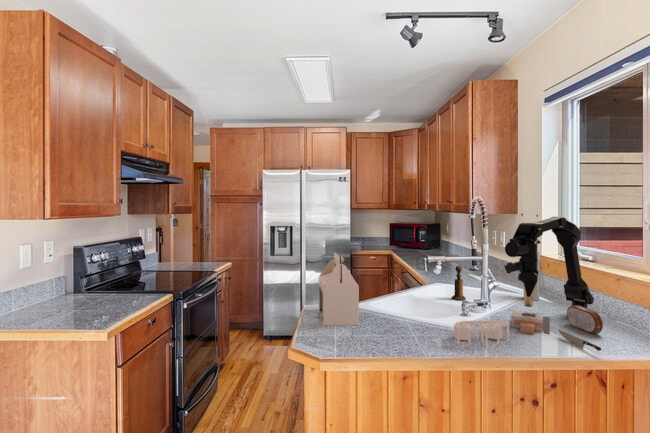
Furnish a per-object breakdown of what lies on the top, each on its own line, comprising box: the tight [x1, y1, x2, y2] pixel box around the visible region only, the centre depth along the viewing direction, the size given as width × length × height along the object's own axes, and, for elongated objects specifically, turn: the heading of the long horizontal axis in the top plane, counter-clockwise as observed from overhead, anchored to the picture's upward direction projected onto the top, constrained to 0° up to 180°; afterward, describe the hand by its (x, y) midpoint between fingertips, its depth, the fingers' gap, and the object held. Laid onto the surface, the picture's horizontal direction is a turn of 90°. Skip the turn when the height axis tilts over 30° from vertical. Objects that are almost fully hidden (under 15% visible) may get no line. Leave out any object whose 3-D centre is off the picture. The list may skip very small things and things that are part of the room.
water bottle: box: [533, 250, 544, 302], centre depth 190 cm, size 9×8×25 cm
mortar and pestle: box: [451, 265, 467, 302], centre depth 186 cm, size 7×6×18 cm
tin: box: [566, 305, 604, 334], centre depth 142 cm, size 15×3×8 cm, turn 4°
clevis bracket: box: [510, 309, 544, 335], centre depth 143 cm, size 16×10×5 cm
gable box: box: [318, 251, 360, 326], centre depth 150 cm, size 22×13×28 cm, turn 6°
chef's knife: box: [557, 328, 602, 352], centre depth 124 cm, size 19×1×3 cm, turn 4°
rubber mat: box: [543, 315, 551, 335], centre depth 150 cm, size 26×14×1 cm, turn 149°
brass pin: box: [523, 285, 534, 308], centre depth 145 cm, size 3×3×10 cm
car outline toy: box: [453, 319, 511, 348], centre depth 127 cm, size 20×11×7 cm, turn 95°
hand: (528, 295), depth 145 cm, fingers closed on brass pin, 3 cm apart
